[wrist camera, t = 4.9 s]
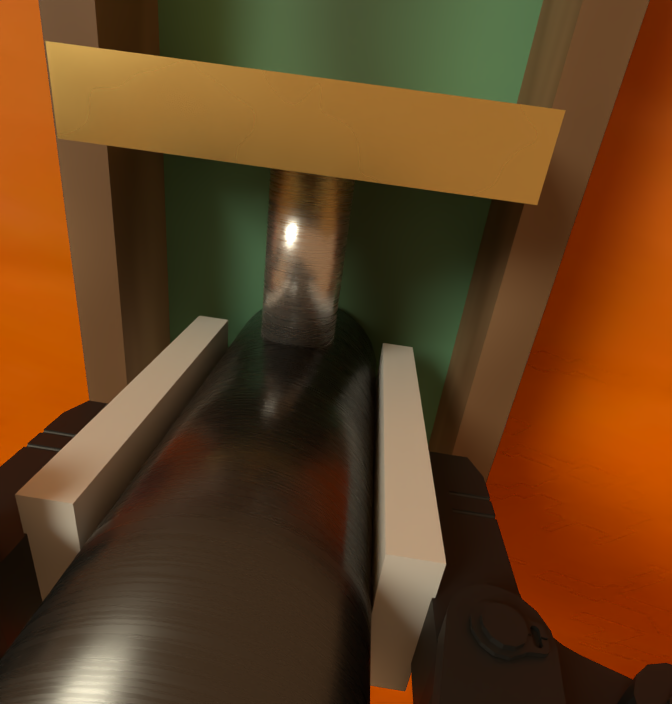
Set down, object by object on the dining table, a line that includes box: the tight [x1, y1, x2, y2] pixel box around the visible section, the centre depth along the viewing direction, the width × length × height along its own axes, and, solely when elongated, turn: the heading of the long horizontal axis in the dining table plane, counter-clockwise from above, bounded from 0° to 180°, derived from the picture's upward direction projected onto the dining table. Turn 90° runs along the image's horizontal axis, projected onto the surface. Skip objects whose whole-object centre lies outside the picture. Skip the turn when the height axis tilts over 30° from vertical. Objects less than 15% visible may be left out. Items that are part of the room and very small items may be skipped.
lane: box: [39, 0, 650, 483], centre depth 10 cm, size 10×30×5 cm, turn 173°
